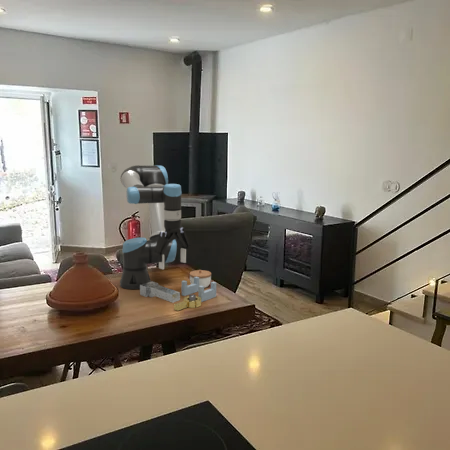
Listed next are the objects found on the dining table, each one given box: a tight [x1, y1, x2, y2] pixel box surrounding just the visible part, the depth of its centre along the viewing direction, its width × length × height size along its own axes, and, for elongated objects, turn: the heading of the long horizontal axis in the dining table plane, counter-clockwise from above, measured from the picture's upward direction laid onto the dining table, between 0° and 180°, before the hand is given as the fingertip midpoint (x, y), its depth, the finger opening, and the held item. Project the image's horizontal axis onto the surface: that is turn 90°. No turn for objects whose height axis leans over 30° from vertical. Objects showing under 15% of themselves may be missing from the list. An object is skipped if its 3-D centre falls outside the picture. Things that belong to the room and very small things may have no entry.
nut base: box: [188, 293, 197, 301], centre depth 191 cm, size 9×9×6 cm
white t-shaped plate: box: [139, 281, 181, 303], centre depth 202 cm, size 21×7×5 cm, turn 48°
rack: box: [181, 277, 217, 303], centre depth 202 cm, size 15×10×8 cm, turn 48°
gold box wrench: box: [173, 295, 202, 311], centre depth 189 cm, size 13×8×3 cm, turn 138°
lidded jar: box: [189, 269, 212, 289], centre depth 216 cm, size 11×11×9 cm
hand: (172, 265), depth 198 cm, fingers open, 13 cm apart
